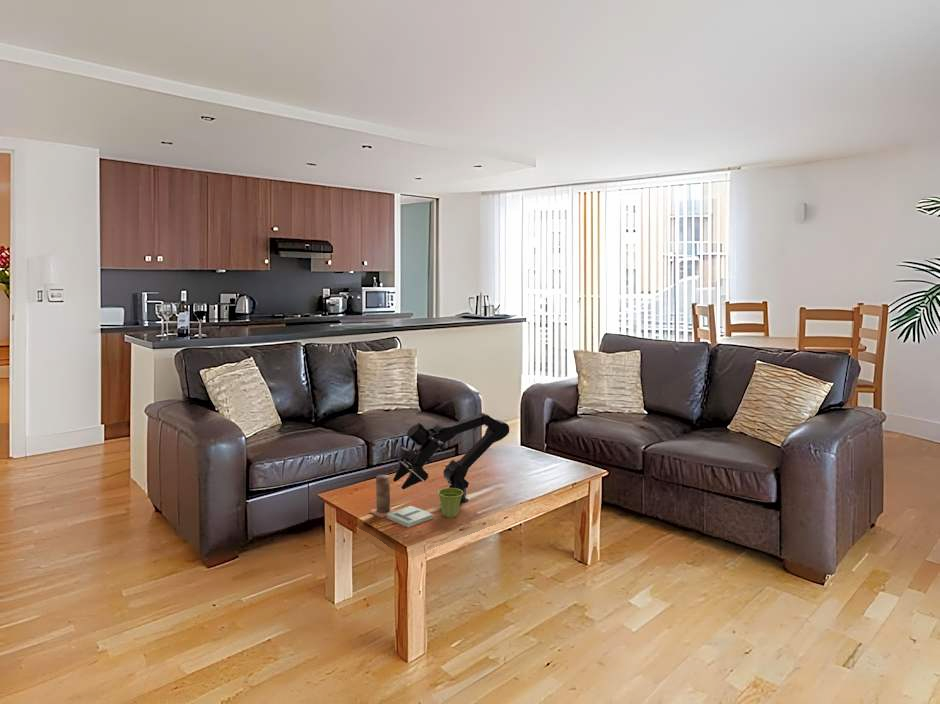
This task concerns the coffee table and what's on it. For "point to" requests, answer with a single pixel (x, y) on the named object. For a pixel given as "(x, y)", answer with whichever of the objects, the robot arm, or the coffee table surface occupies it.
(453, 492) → the plant pot
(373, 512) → the terracotta tile
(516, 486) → the coffee table surface
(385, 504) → the walnut post
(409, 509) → the letter board
